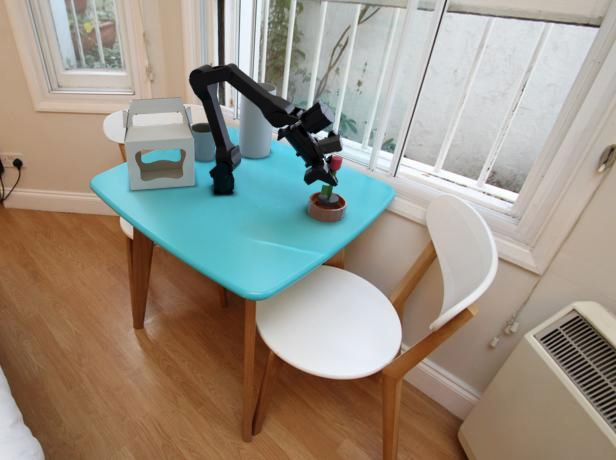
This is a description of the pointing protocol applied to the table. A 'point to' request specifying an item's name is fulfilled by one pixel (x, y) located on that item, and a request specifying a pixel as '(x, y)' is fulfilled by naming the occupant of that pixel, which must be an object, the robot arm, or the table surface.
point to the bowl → (326, 209)
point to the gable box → (159, 145)
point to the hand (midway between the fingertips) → (336, 184)
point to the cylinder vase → (254, 128)
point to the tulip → (326, 192)
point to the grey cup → (203, 142)
